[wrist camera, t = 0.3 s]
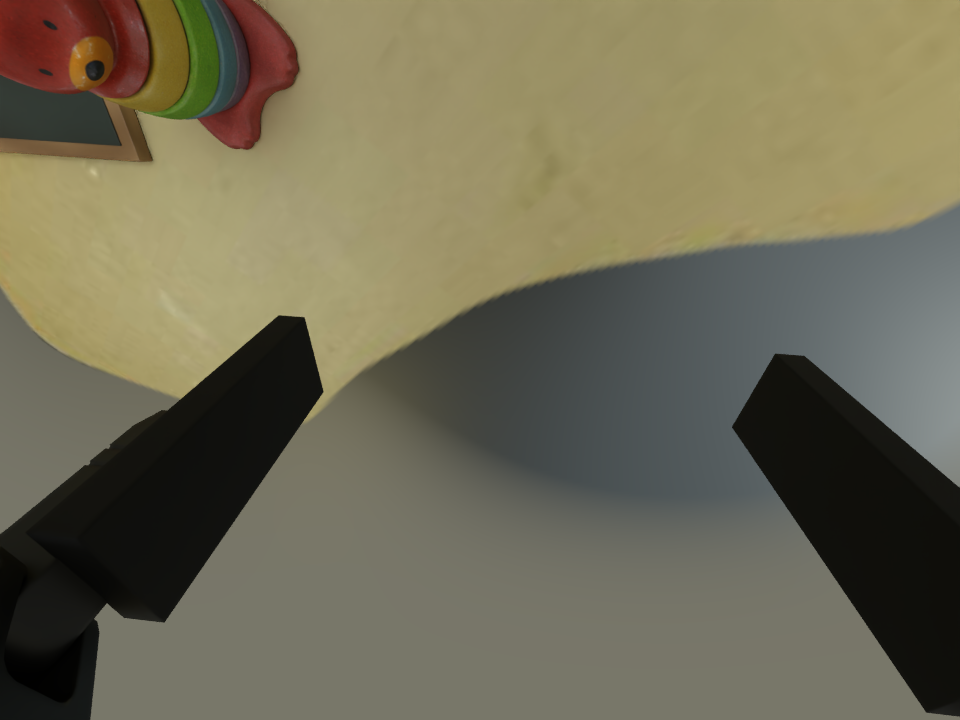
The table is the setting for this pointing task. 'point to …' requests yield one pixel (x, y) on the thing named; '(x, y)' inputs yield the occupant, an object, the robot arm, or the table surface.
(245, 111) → the stacking bear
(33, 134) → the chalkboard
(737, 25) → the table surface
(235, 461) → the robot arm
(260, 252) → the table surface
